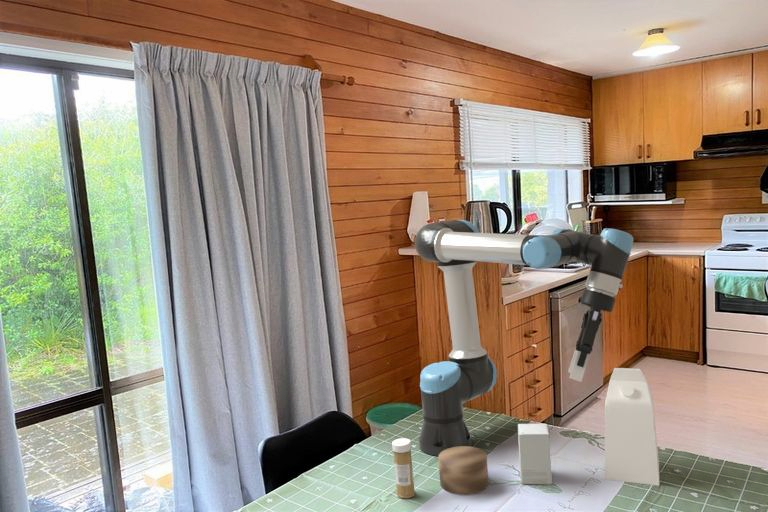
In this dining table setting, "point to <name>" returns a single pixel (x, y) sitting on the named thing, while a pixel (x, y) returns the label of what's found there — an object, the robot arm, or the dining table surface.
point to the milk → (630, 429)
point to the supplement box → (534, 454)
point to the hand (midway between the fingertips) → (574, 376)
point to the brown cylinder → (463, 470)
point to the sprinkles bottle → (403, 468)
